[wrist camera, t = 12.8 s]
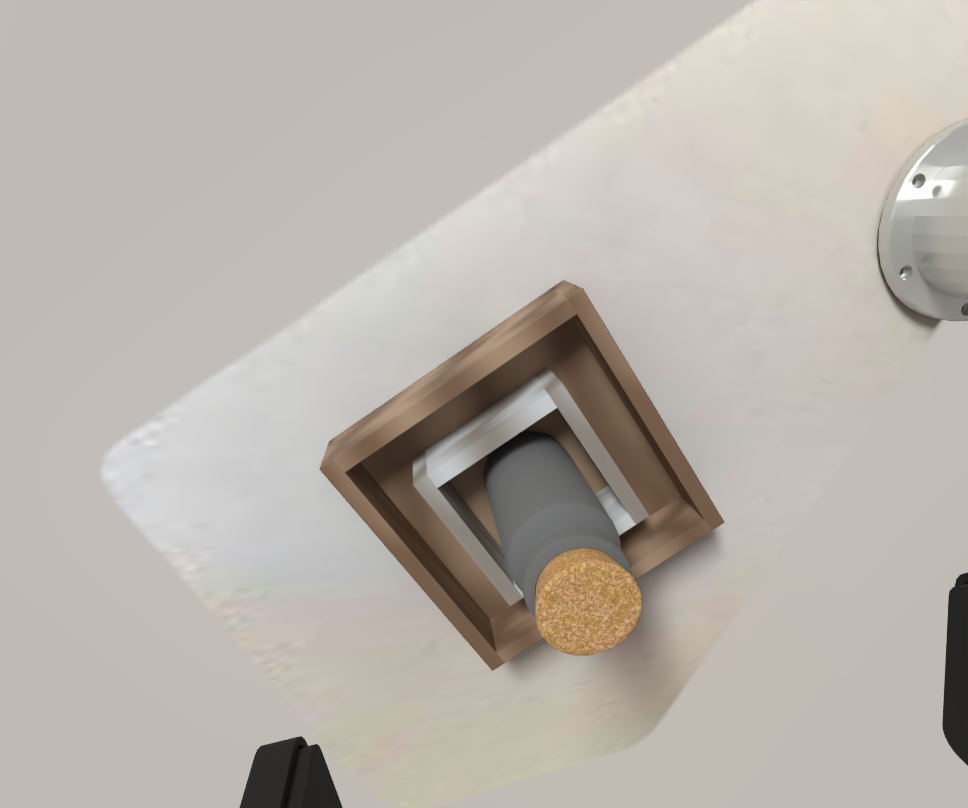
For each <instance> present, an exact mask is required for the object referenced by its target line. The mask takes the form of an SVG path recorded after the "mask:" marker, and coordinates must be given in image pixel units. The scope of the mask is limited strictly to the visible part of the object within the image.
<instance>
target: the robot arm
mask: <svg viewBox="0 0 968 808" xmlns="http://www.w3.org/2000/svg"><path fill="white" fill-rule="evenodd" d="M878 250H879V256H880V263H881V268H882V270H883V273H884V276H885V279H886V282H887V283H888V285H889V286H890V288H891V290H892V291H893V293H894V294H895V296H896V297H897V298H898V299H899V300H900V301H901V302H902V303H904V304H905V305H906V306H907V307H909V308H910V309H912V310H914V311H915V312H917V313H919V314H922V315H925V316H929V317H932V318H936V319H943V320H949V321H967V320H968V119H967V120H964V121H962V122H959V123H957V124H955V125H953V126H950V127H948V128H946V129H945V130H943V131H942V132H940V133H939V134H937V135H936V136H934V137H933V138H931V139H930V140H929V141H928V142H927V143H926V144H925V145H924V146H923V147H921V148H920V149H919V150H918V151H917V152H916V153H915V154H914V155H913V157H912V158H911V159H910V160H909V162H908V163H907V164H906V166H905V167H904V168H903V169H902V171H901V172H900V174H899V176H898V178H897V179H896V181H895V183H894V185H893V186H892V188H891V190H890V193H889V195H888V198H887V201H886V203H885V206H884V209H883V213H882V217H881V222H880V227H879V243H878ZM943 731H944V734H945V737H946V739H947V741H948V743H949V745H950V746H951V748H952V749H953V751H954V752H955V753H956V754H957V755H958V756H959V757H960V758H961V759H962V760H963V761H964V762H965V763H966V764H967V765H968V573H965V574H961V575H960V576H959V577H958V578H957V579H956V584H955V587H953V588H952V589H951V590H950V593H949V604H948V625H947V644H946V666H945V685H944V705H943ZM240 808H342V805H341V802H340V800H339V797H338V794H337V791H336V789H335V786H334V784H333V781H332V778H331V775H330V773H329V770H328V767H327V764H326V762H325V759H324V757H323V754H322V751H321V749H320V747H319V745H317V744H315V745H311V746H308V745H307V743H306V741H305V739H304V738H303V737H296V738H292V739H288V740H283V741H280V742H275V743H271V744H268V745H263V746H261V747H260V748H259V749H258V750H257V752H256V754H255V757H254V760H253V764H252V767H251V771H250V774H249V777H248V781H247V784H246V788H245V791H244V795H243V798H242V802H241V805H240Z"/></svg>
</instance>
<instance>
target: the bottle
mask: <svg viewBox="0 0 968 808" xmlns="http://www.w3.org/2000/svg"><path fill="white" fill-rule="evenodd" d="M484 479H485V485H486V489H487V494H488V498H489V501H490V505H491V509H492V513H493V516H494V520H495V524H496V527H497V531H498V535H499V538H500V542H501V546H502V550H503V553H504V557H505V560H506V563H507V567H508V570H509V573H510V575H511V577H512V579H513V581H514V582H515V584H516V585H517V587H518V588H519V589H520V590H521V591H522V593H523V597H524V600H525V602H526V605H527V607H528V609H529V611H530V612H531V614H532V615H533V616H534V617H535V618H536V624H537V627H538V630H539V632H540V634H541V635H542V637H543V638H544V639H545V640H546V641H547V643H549V644H550V645H551V646H552V647H554V648H555V649H557V650H559V651H561V652H564V653H567V654H572V655H581V656H584V655H594V654H597V653H601V652H604V651H607V650H609V649H611V648H613V647H614V646H616V645H618V644H619V643H621V642H622V641H623V640H624V639H625V638H627V636H628V635H629V634H630V633H631V632H632V631H633V629H634V627H635V626H636V624H637V622H638V620H639V617H640V614H641V610H642V595H641V591H640V588H639V586H638V584H637V582H636V580H635V579H634V578H633V577H632V573H631V567H630V565H629V562H628V560H627V558H626V556H625V554H624V553H623V551H622V550H621V543H620V538H619V534H618V532H617V530H616V527H615V525H614V523H613V522H612V520H611V518H610V517H609V515H608V514H607V512H606V511H605V509H604V507H603V506H602V504H601V503H600V501H599V500H598V498H597V496H596V495H595V493H594V492H593V490H592V489H591V487H590V486H589V484H588V483H587V481H586V479H585V478H584V476H583V475H582V473H581V472H580V470H579V469H578V467H577V466H576V464H575V463H574V461H573V460H572V458H571V457H570V455H569V454H568V452H567V451H566V449H565V448H564V447H563V446H562V445H561V444H560V442H558V441H557V440H556V439H555V438H553V437H551V436H549V435H547V434H545V433H541V432H536V431H525V432H520V433H519V434H517V435H516V436H514V437H513V438H511V439H510V440H508V441H507V442H505V443H504V444H502V445H501V446H499V447H498V448H496V449H495V450H493V451H492V452H491V453H490V455H489V457H488V459H487V462H486V465H485V469H484Z"/></svg>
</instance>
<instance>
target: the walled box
mask: <svg viewBox="0 0 968 808" xmlns="http://www.w3.org/2000/svg"><path fill="white" fill-rule="evenodd" d="M525 431H536V432H541V433H545V434H547V435H549V436H551V437H553V438H555V439H556V440H557V441H558V442H560V444H561V445H562V446H563V447H564V448H565V449H566V451H567V452H568V454H569V455H570V457H571V458H572V460H573V461H574V463H575V464H576V466H577V467H578V469H579V470H580V472H581V473H582V475H583V476H584V478H585V479H586V481H587V483H588V484H589V486H590V487H591V489H592V490H593V492H594V493H595V495H596V496H597V498H598V500H599V501H600V503H601V504H602V506H603V507H604V509H605V511H606V512H607V514H608V515H609V517H610V518H611V520H612V522H613V523H614V525H615V527H616V530H617V532H618V534H619V538H620V543H621V550H622V551H623V553H624V554H625V556H626V558H627V560H628V562H629V565H630V567H631V573H632V577H633V578H634V579H637V578H638V577H640V576H642V575H643V574H645V573H646V572H648V571H649V570H651V569H652V568H654V567H656V566H657V565H659V564H660V563H662V562H663V561H665V560H667V559H668V558H670V557H671V556H673V555H674V554H676V553H677V552H679V551H681V550H682V549H684V548H685V547H687V546H688V545H690V544H692V543H693V542H695V541H696V540H698V539H699V538H701V537H703V536H704V535H706V534H707V533H709V532H710V531H712V530H713V529H715V528H717V527H718V526H720V525H721V524H723V523H724V520H723V519H722V517H721V516H720V514H719V512H718V511H717V509H716V507H715V506H714V504H713V502H712V501H711V499H710V497H709V496H708V494H707V492H706V491H705V489H704V487H703V486H702V484H701V483H700V481H699V479H698V478H697V476H696V474H695V473H694V471H693V469H692V468H691V466H690V464H689V463H688V461H687V459H686V458H685V456H684V454H683V453H682V451H681V450H680V448H679V446H678V445H677V443H676V441H675V440H674V438H673V436H672V435H671V433H670V431H669V430H668V428H667V426H666V425H665V423H664V421H663V420H662V418H661V417H660V415H659V413H658V412H657V410H656V408H655V407H654V405H653V403H652V402H651V400H650V398H649V397H648V395H647V393H646V392H645V390H644V388H643V387H642V385H641V384H640V382H639V380H638V379H637V377H636V375H635V374H634V372H633V370H632V369H631V367H630V365H629V364H628V362H627V360H626V359H625V357H624V355H623V354H622V352H621V351H620V349H619V347H618V346H617V344H616V342H615V341H614V339H613V337H612V336H611V334H610V332H609V331H608V329H607V327H606V326H605V324H604V322H603V321H602V319H601V318H600V316H599V314H598V313H597V311H596V309H595V308H594V306H593V304H592V303H591V301H590V299H589V298H588V296H587V294H586V293H585V291H584V289H583V288H580V287H578V286H576V285H574V284H571V283H569V282H567V281H565V280H563V281H561V282H560V283H559V284H557V285H556V286H554V287H553V288H551V289H550V290H548V291H547V292H545V293H544V294H543V295H541V296H540V297H538V298H537V299H535V300H534V301H532V302H531V303H530V304H528V305H527V306H525V307H524V308H522V309H521V310H519V311H518V312H516V313H515V314H514V315H512V316H511V317H509V318H508V319H506V320H505V321H503V322H502V323H501V324H499V325H498V326H496V327H495V328H493V329H492V330H490V331H489V332H487V333H486V334H485V335H483V336H482V337H480V338H479V339H477V340H476V341H474V342H473V343H472V344H470V345H469V346H467V347H466V348H464V349H463V350H461V351H460V352H458V353H457V354H456V355H454V356H453V357H451V358H450V359H448V360H447V361H445V362H444V363H443V364H441V365H440V366H438V367H437V368H435V369H434V370H432V371H431V372H429V373H428V374H427V375H425V376H424V377H422V378H421V379H419V380H418V381H416V382H415V383H413V384H412V385H411V386H409V387H408V388H406V389H405V390H403V391H402V392H400V393H399V394H398V395H396V396H395V397H393V398H392V399H390V400H389V401H387V402H386V403H384V404H383V405H382V406H380V407H379V408H377V409H376V410H374V411H373V412H371V413H370V414H369V415H367V416H366V417H364V418H363V419H361V420H360V421H358V422H357V423H355V424H354V425H353V426H351V427H350V428H348V429H347V430H345V431H344V432H342V433H341V434H340V435H338V436H337V437H335V438H334V439H332V440H331V441H329V444H328V447H327V450H326V452H325V455H324V458H323V461H322V464H321V467H320V470H321V471H322V473H323V474H324V475H325V476H326V477H327V478H328V480H329V481H330V482H331V483H332V484H333V485H334V487H335V488H336V489H337V490H338V491H339V492H340V494H341V495H342V496H343V497H344V498H345V499H346V501H347V502H348V503H349V504H350V505H351V506H352V508H353V509H354V510H355V511H356V512H357V513H358V515H359V516H360V517H361V518H362V519H363V520H364V522H365V523H366V524H367V525H368V526H369V527H370V529H371V530H372V531H373V532H374V533H375V534H376V536H377V537H378V538H379V539H380V540H381V541H382V543H383V544H384V545H385V546H386V547H387V548H388V550H389V551H390V552H391V553H392V554H393V555H394V557H395V558H396V559H397V560H398V561H399V562H400V564H401V565H402V566H403V567H404V568H405V569H406V571H407V572H408V573H409V574H410V575H411V576H412V578H413V579H414V580H415V581H416V582H417V583H418V585H419V586H420V587H421V588H422V589H423V590H424V592H425V593H426V594H427V595H428V596H429V597H430V599H431V600H432V601H433V602H434V603H435V604H436V606H437V607H438V608H439V609H440V610H441V611H442V613H443V614H444V615H445V616H446V617H447V618H448V620H449V621H450V622H451V623H452V624H453V625H454V627H455V628H456V629H457V630H458V631H459V632H460V634H461V635H462V636H463V637H464V638H465V639H466V641H467V642H468V643H469V644H470V645H471V646H472V648H473V649H474V650H475V651H476V652H477V653H478V655H479V656H480V657H481V658H482V659H483V660H484V662H485V663H486V664H487V665H488V666H489V667H490V669H491V670H492V671H493V670H495V669H496V668H498V667H499V666H501V665H502V664H504V663H505V662H507V661H509V660H510V659H512V658H513V657H515V656H516V655H518V654H520V653H521V652H523V651H524V650H526V649H527V648H529V647H531V646H532V645H534V644H535V643H537V642H538V641H540V640H541V639H543V637H542V635H541V634H540V632H539V630H538V627H537V624H536V618H535V617H534V616H533V615H532V614H531V612H530V611H529V609H528V607H527V605H526V602H525V600H524V597H523V593H522V591H521V590H520V589H519V588H518V587H517V585H516V584H515V582H514V581H513V579H512V577H511V575H510V573H509V570H508V567H507V563H506V560H505V557H504V553H503V550H502V546H501V542H500V538H499V535H498V531H497V527H496V524H495V520H494V516H493V513H492V509H491V505H490V501H489V498H488V494H487V489H486V485H485V479H484V469H485V465H486V462H487V459H488V457H489V455H490V453H491V452H492V451H493V450H495V449H496V448H498V447H499V446H501V445H502V444H504V443H505V442H507V441H508V440H510V439H511V438H513V437H514V436H516V435H517V434H519V433H520V432H525Z"/></svg>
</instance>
